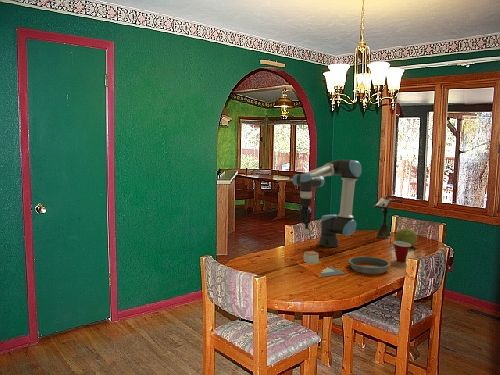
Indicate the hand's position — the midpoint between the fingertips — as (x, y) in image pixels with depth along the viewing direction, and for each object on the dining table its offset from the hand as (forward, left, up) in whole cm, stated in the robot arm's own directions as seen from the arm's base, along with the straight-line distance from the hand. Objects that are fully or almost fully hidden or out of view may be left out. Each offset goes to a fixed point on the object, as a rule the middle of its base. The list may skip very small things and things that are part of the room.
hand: (305, 233), depth 276 cm
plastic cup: (+24, +59, -19) cm, 66 cm away
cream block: (+8, 0, -18) cm, 20 cm away
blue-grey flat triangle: (+16, 0, -18) cm, 24 cm away
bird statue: (-33, +91, -19) cm, 99 cm away
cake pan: (+29, +29, -19) cm, 45 cm away
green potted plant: (-4, +88, -19) cm, 90 cm away
